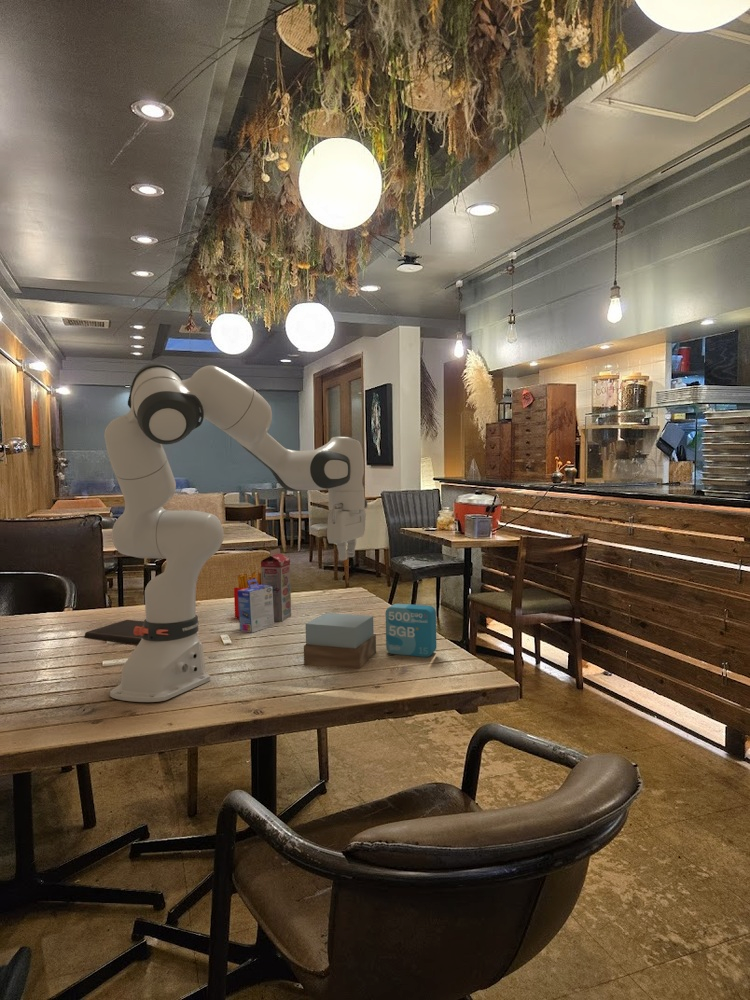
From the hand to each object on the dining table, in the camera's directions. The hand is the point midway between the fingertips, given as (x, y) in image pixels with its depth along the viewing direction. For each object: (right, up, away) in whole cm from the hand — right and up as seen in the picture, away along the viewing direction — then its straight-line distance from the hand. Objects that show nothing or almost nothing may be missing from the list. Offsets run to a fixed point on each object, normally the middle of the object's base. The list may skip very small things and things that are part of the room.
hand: (346, 558), depth 161 cm
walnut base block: (-1, -25, 0) cm, 25 cm away
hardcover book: (-62, -25, +26) cm, 71 cm away
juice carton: (-24, -23, +41) cm, 53 cm away
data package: (+16, -24, +3) cm, 29 cm away
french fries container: (-32, -23, +44) cm, 59 cm away
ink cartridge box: (-28, -24, +31) cm, 48 cm away
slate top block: (-2, -20, 0) cm, 20 cm away
